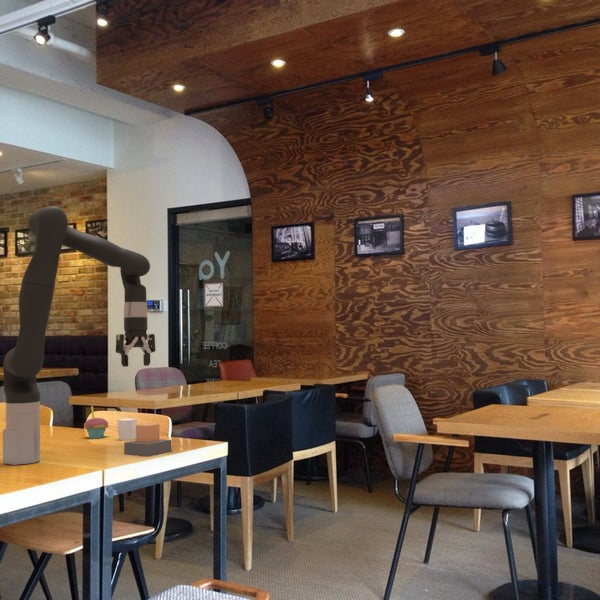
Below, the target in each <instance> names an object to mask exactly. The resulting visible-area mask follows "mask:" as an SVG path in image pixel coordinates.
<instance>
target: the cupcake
mask: <svg viewBox="0 0 600 600" xmlns="http://www.w3.org/2000/svg"><path fill="white" fill-rule="evenodd" d="M90 409H91V416H92V418H89V419H87V420H86V421H85V422H84V423H83V428H84V430H85V429H86V432H87V435H88V438H89V439H92V440H93V439H103V438H104V435H105V433H106V429H107V428H109V422H108V420H106V419H104V418H101V417H95V412H94V406H93V405H92V404H91V407H90Z"/></svg>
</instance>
